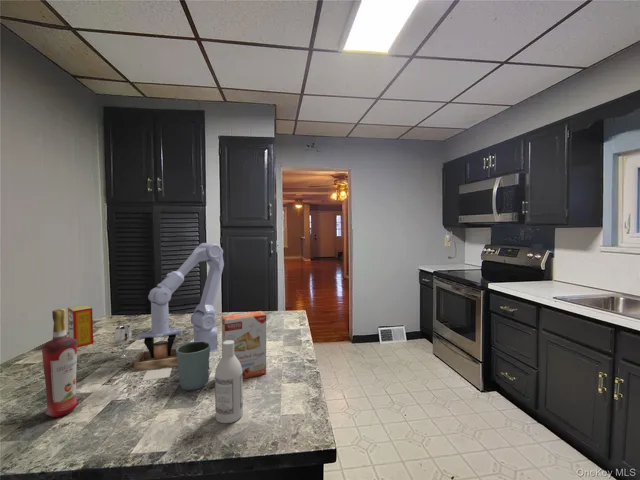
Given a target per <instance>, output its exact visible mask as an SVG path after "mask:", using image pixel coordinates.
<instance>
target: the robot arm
mask: <svg viewBox="0 0 640 480" xmlns="http://www.w3.org/2000/svg"><path fill="white" fill-rule="evenodd" d="M223 254H224V250H223V248H222V247H221V246H220V245H219V244H218V243H208V242H202V243H200V244H199V245H198V246H197V247H196V248H195V249H194V250H193V251H192V253H191V254H190V255H189V256H188V258H186V260H185V261H184V263H182V264H181V266H180V267H179V268H178V269H177V270H175V271H173V270H172V271H171V272H168V273H167V274H166V277H164V279H163V280H162V281H161V282H160V283H158V284H157V285H156V287H154V288H152V289H150V290H149V294H148V295H147V297H148V298H147V299H148V300H149V301H150V307H151V308H150V319H151V320H150V322H151V331H145V332H139V333H138V334H137V340H138V341H141V340H144V341H143V343H144V345H145V346H146V348H147V349H148V350H147V351H149V352H150V355H151V358H154V355H153V344H154V343H155V339H156V338H163V337H167V341H168V356H170V355H171V349H172V348H173V345H174V342H175V340H176V338H177V336H182V335H183V328H170V318H169V317H170V316H169V314H170V313H169V312H170V311H169V302H170V301H171V299H172V294H173V293H175V291H176V290H177V289H178V288H179V287H180V286H181V285H182V284H183V282H185V277H186V275H187V274H188V273H189V272H190V271H191V270H192V269H194V268H195V267H196V265H198V263H200V262H206V263H207V265H208V266H209V269H208V272H207V275H206V280H205V284H204V287H203V291H202V295H201V299H200V301H199V304H198V305H196V307H195V308H194V312H193V313H192V314H191V315H190V322H191V324H192V325H193V342H194V341H205V342H208V343H210V353H211V352H217V351H218V349H219V348H218V346H219V340H218V327H216V326H215V324H216V310H215V307H214V305H215V301H216V297H217V294H218V290H219V285H220V282H221V278H222V274H223V270H224V267H225V262H224V256H223ZM214 326H215V327H214Z"/></svg>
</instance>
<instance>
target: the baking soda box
mask: <svg viewBox="0 0 640 480" xmlns="http://www.w3.org/2000/svg"><path fill="white" fill-rule="evenodd" d="M93 321H94V320H93V308H92V307H91V306H89V305H88V304H83V305H77V306H76V305H75V306H70V307H67V325H68V326H67V327H68V329H67V332H68V337H71V338H74V339H76V340H77V348H81V347H85V346H91V345H93V344H94V324H93Z"/></svg>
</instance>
